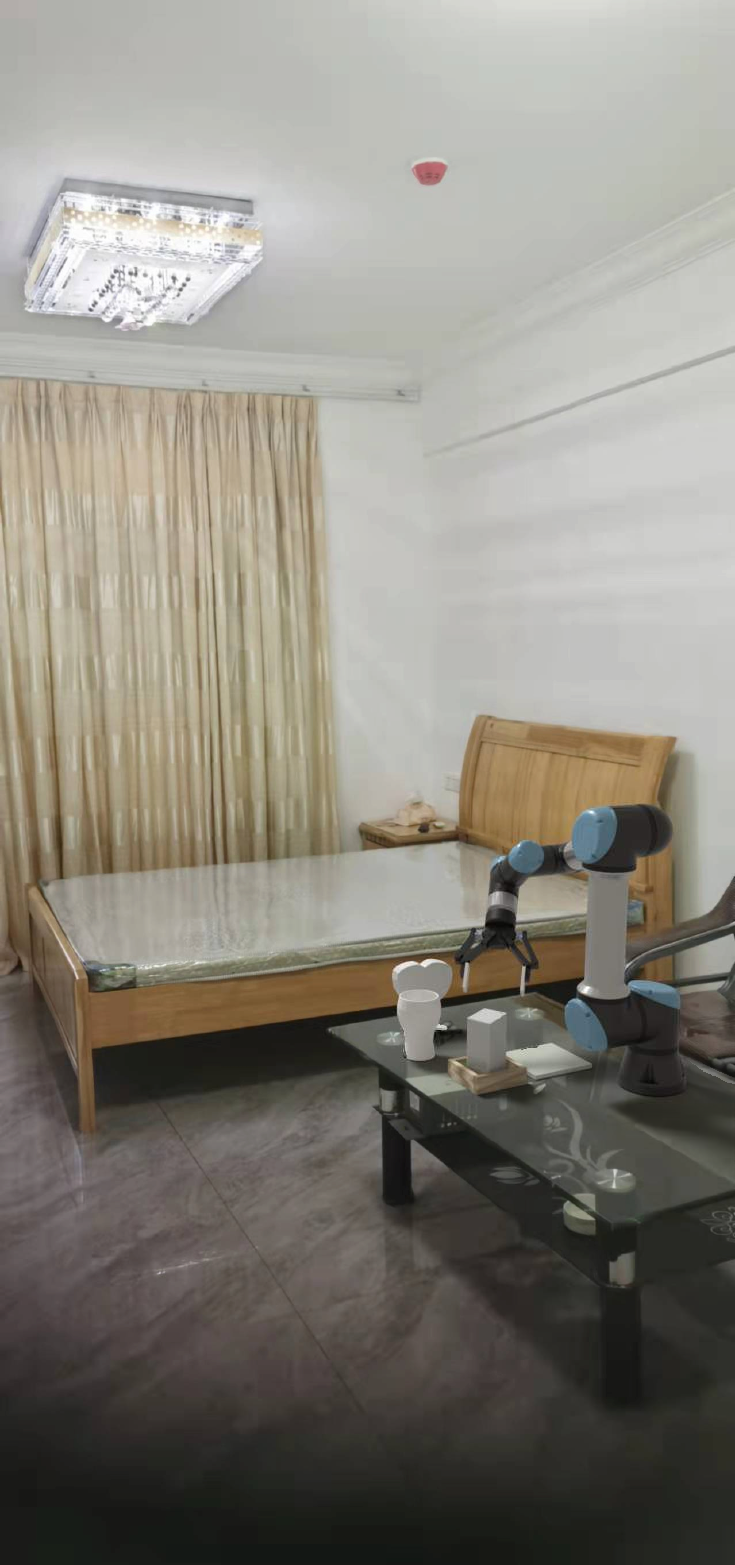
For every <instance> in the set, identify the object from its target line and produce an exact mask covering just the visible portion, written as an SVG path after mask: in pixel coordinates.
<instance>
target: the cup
mask: <svg viewBox="0 0 735 1565" xmlns="http://www.w3.org/2000/svg"><path fill="white" fill-rule="evenodd" d="M441 1004H442V1003H441V1000H440V999H439V995H438V994H437V993H435V992H432V991H428V990H409V991H405V992H403V993H401V994H400V996H399V995H398V1001H397V1004H396V1005H397V1006H396V1010H397V1011H396V1015H397V1018H398V1021H399V1022H398V1023H399V1024H400V1026H401V1029H402V1028H403V1030H404V1035H403V1036H404V1045H405V1051H406V1055H407V1058H406V1059H407V1060H410V1061H416V1062H417V1061H418V1062H423V1061H428V1060H432V1059H434V1058H435V1056H436V1052H435V1046H434V1045H435V1044H434V1035H435V1032H436V1031H435V1029H436V1027H437V1025H438V1024H440V1023H439V1022H440V1018H441V1015H442V1005H441Z"/></svg>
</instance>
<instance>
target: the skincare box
mask: <svg viewBox="0 0 735 1565" xmlns="http://www.w3.org/2000/svg"><path fill="white" fill-rule="evenodd" d="M466 1023H467V1025H466V1026H467V1027H466V1056H467V1068H468V1069H470V1070H471V1071H473V1072H475V1073H476V1074H478V1075H480V1074H485V1073H490V1072H495V1071H500V1070H504V1069H506V1052H507V1030H508V1029H507V1028H508V1025H507V1024H508V1013H507V1012H504V1011H498V1010H494V1009H490V1008H482V1009H481V1010H479V1011H477V1012H475V1013H474V1014H472V1015H470V1016H467V1018H466Z"/></svg>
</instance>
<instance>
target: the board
mask: <svg viewBox="0 0 735 1565" xmlns="http://www.w3.org/2000/svg"><path fill="white" fill-rule="evenodd" d="M537 1046H538V1045H537ZM526 1048H527V1049H523V1048H518V1049H513V1050H509V1051H506V1056H508V1057H510V1058H511V1059H513V1060H515V1061H517V1062H518V1063H520V1064H522V1065H524V1066H525V1067H527V1077H530V1078H531V1079H534V1080H535V1081H536V1080H537V1081H538V1080H541V1079H546V1078H551V1077H555V1076H560V1075H565V1074H570V1073H574V1072H579V1071H584V1070H588V1069H593V1068H592V1067H593V1064H592V1063H591V1062H590V1061H587V1060H585V1059H583V1058H581V1057H580V1056H577V1055H576V1054H573V1053H572V1052H570V1051H568V1050H566V1049H564V1048H563V1047H561V1046H559V1045H557V1044H554V1043H553V1042H549V1043H545V1044H539V1046H538V1047H537V1048H528V1047H526ZM521 1049H523V1050H521Z"/></svg>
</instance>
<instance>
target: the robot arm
mask: <svg viewBox="0 0 735 1565" xmlns="http://www.w3.org/2000/svg"><path fill="white" fill-rule="evenodd" d="M673 825H674V824H673V823H672V819H671V818H670V817H669V815H668V814H667V813H666V811H664V810H663V809H662V808H660V807H658V806H656V805H654V804H647V803H636V804H627V805H626V804H622V805H621V804H620V805H607V806H606V805H605V806H604V805H602V806H598V807H592V808H587V809H585V810H584V811H582V812H581V814H579V816H578V817H577V818H576V820H575V821H574V824H573V826H572V829H571V830H572V831H571V837H570V840H568V841H566V842H562V843H557V844H545V845H540V844H538V842H535V841H532V840H529V839H526V840H525V839H524V840H521V841H520V842H519V843H517V844H516V845H515V846H514V847H513V848H512V849H510V851H509V853H508V854H507V855H501V856H499V857H496V858H495V859H493V861H492V864H491V867H490V868H491V869H490V871H489V886H488V892H487V894H488V895H487V900H486V901H487V902H486V913H485V919H484V920H485V921H484V926H483V927H484V928H483V930H478V929H477V928H476V927H471V929H470V933H469V935H468V937H467V938H466V940H465V941H464V942H463V944H462V945H461V947H460V948H459V950H458V951H457V952H456V953H455V955H454V956H453V960H454V964H455V965H459V966H460V968H459V976H460V979H463V981H462V991H463V993H468V986H469V985H468V984H469V977H470V969H471V968H470V964H471V963H472V962H473V961H474V960H475V959H477V958H478V957H479V956H480V955H482V954H483V953H484V952H486V951H488V949H489V948H491V950H501V951H505V949H508V951H509V952H510V953H512V954H513V956H514V957H515V959H517V960H518V962H519V963H520V964H521V965H522V968H521V977H520V978H521V979H520V987H519V988H520V989H519V991H520V992H519V993H520V997H525V992H526V991H525V989H526V983H530V981H531V975H532V973H531V972H532V970H539V968H540V965H539V960H538V958H537V956H536V953H535V951H534V950H533V948H532V945H531V943H530V941H529V939H528V931H527V930H525V929H524V930H522V931H521V932H516V924H517V914H518V905H519V894H520V888H521V887H522V886H523V885H524V884H525V883H526V882H527V880H529V878H536V877H537V878H538V877H546V876H552V875H553V876H555V875H566V874H578V873H582V872H585V873H586V874H587V875H588V877H587V878H588V879H587V880H588V881H587V882H588V883H587V903H586V904H587V906H586V927H585V928H586V929H585V956H584V957H585V958H584V959H585V960H584V977H583V978H584V979H583V980H582V981H581V982H580V983H578V985H577V986H576V998H572V999H570V1000H569V1001H568V1002H567V1003H566V1005H565V1008H564V1020H565V1025H566V1028H567V1031H568V1034H570V1037H571V1039H572V1041H573V1042H574V1043H575V1044H576V1045H577V1046H578V1047H579V1048H580V1049H582V1050H583V1051H586V1052H597V1051H601V1052H603V1051H606V1050H610V1049H614V1048H615V1049H616V1048H620V1047H621V1048H622V1047H625V1051H624V1053H623V1056H622V1060H621V1063H620V1066H619V1067H618V1069H617V1079H616V1080H617V1083H618V1085H619V1086H620V1087H621V1088H623V1089H625V1090H627V1091H629V1092H632V1093H635V1094H639V1095H644V1096H645V1095H646V1096H654V1097H656V1096H657V1097H664V1096H665V1097H666V1096H672V1095H677V1094H680V1093H682V1092H683V1091H684V1090H685V1089H686V1086H687V1076H686V1072H685V1070H684V1066H683V1062H682V1059H681V1056H680V1049H679V1048H680V1027H681V1026H680V1023H681V1010H682V1007H681V995H680V993H679V991H678V990H677V989H676V988H675V987H673V986H671V985H668V984H665V983H660V982H656V981H652V980H642V979H641V980H640V979H638V980H637V979H635V980H630V981H629V982H628V983H627V984H626V983H625V973H626V972H625V968H626V967H625V965H626V946H627V945H626V944H627V927H628V926H627V925H628V924H627V923H628V905H629V880H630V877H631V875H633V874H634V873H636V871H637V864H638V858H646V857H652V856H656V855H658V854H661V853H662V852H664V851H665V850H666V849H667V848H668V847H669V846H670V844H671V842H672V840H673V836H674V826H673ZM480 937H482V940H481V941H480V942H479V943H478V944H477V945H476V946H474V947H473V945H474V944H475V942H476V940H479V938H480ZM517 939H518V940H519V942H521V943H522V944H523V947H524V949H525V952H526V954H527V956H528V958H529V960H530V961H529V960H528V958H527V957H526V956H525V955H524V953H523V952H522V951H521V950H520V949H519V947H517V945H516V944H515V941H516V940H517ZM470 949H471V950H470Z"/></svg>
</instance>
